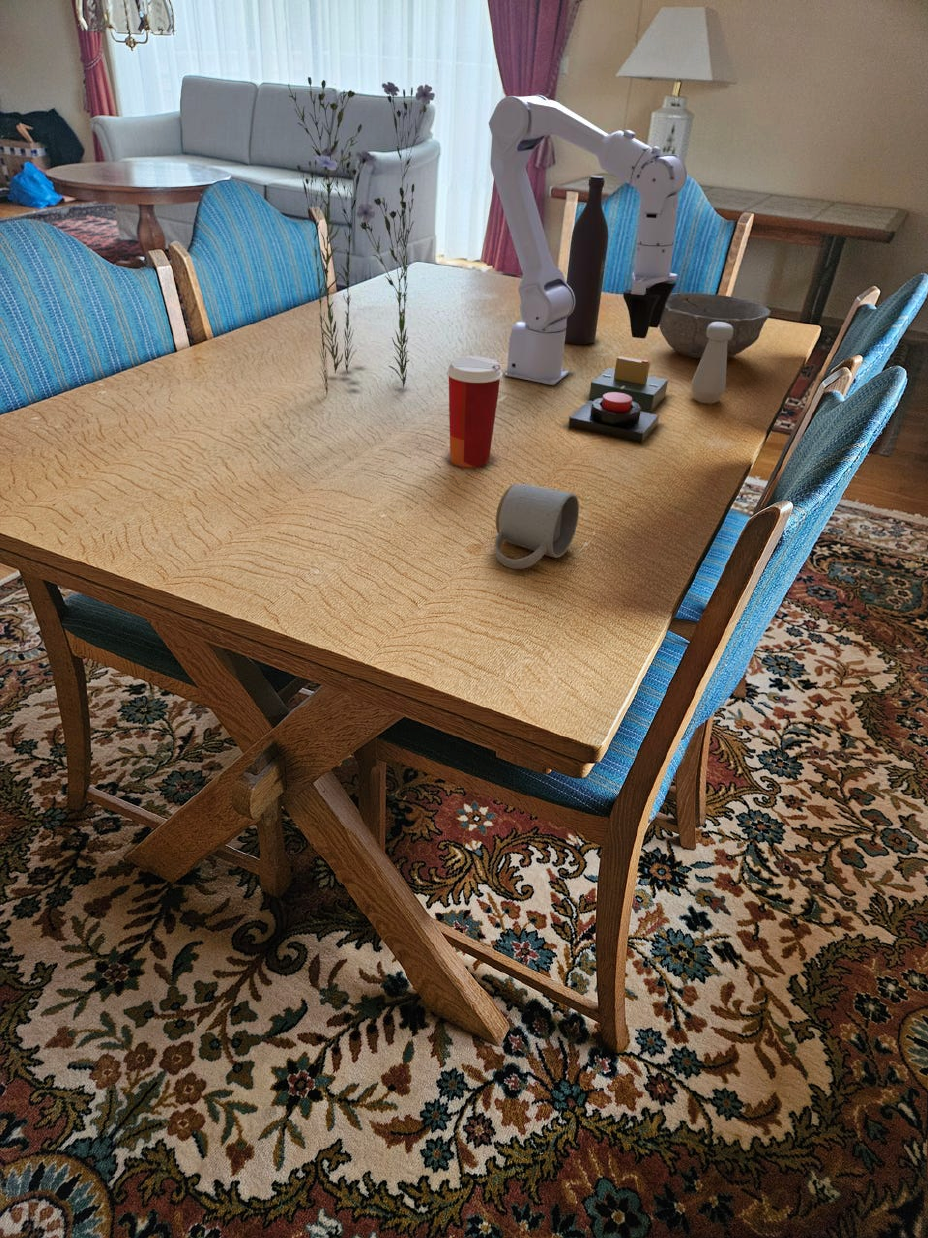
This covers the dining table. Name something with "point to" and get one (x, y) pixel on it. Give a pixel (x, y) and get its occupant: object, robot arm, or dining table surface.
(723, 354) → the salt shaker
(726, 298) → the bowl
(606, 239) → the wine bottle
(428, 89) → the wildflower
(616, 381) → the panel
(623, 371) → the dimmer knob
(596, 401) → the switch box
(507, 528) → the ceramic mug
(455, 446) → the paper cup
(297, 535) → the dining table surface
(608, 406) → the light button
